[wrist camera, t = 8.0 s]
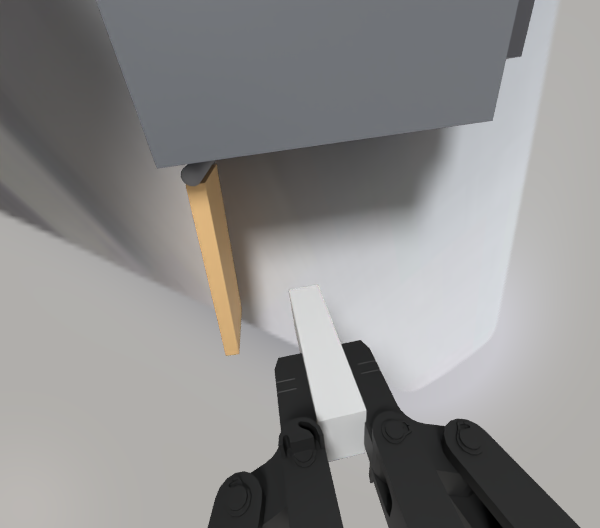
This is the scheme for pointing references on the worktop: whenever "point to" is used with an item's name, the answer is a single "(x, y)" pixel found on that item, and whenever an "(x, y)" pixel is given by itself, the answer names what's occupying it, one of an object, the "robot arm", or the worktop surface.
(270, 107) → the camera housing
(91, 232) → the worktop surface
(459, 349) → the worktop surface
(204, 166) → the side door
